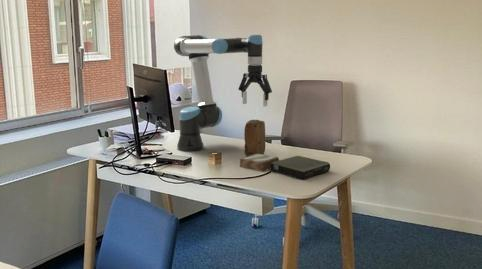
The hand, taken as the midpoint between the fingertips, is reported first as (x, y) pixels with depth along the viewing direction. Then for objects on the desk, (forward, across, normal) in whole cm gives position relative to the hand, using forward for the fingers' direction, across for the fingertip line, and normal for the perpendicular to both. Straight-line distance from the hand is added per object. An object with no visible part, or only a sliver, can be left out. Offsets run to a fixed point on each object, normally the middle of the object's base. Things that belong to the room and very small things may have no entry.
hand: (254, 105), depth 281 cm
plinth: (+28, +13, -13) cm, 34 cm away
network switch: (+29, +35, -9) cm, 46 cm away
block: (+29, 0, 0) cm, 29 cm away
